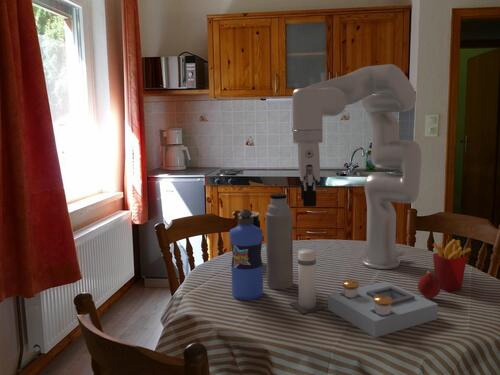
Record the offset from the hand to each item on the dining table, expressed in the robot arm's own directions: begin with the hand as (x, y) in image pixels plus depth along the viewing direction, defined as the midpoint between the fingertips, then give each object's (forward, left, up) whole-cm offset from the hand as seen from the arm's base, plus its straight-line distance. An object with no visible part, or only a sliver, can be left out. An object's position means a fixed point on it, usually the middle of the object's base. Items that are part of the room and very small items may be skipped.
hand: (308, 202), depth 118 cm
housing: (-13, +14, -28) cm, 34 cm away
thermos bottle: (-1, -17, -29) cm, 33 cm away
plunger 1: (-8, +8, -28) cm, 30 cm away
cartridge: (+1, +1, -28) cm, 28 cm away
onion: (-31, +13, -29) cm, 44 cm away
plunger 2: (-8, +20, -28) cm, 35 cm away
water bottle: (+11, -15, -29) cm, 34 cm away
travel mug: (-2, -40, -29) cm, 49 cm away
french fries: (-43, +11, -29) cm, 53 cm away
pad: (+1, +1, -28) cm, 28 cm away
